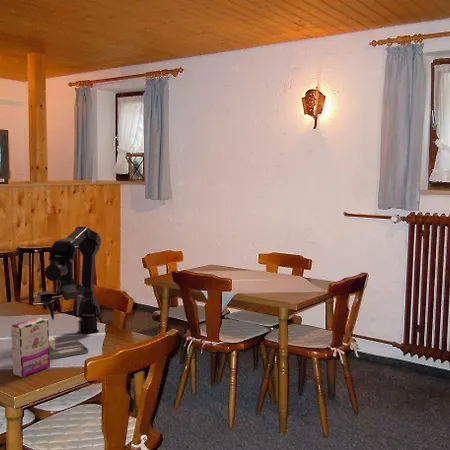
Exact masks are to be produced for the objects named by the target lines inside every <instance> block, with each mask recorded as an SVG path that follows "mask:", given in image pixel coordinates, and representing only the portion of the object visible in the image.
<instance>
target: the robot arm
mask: <svg viewBox="0 0 450 450" xmlns="http://www.w3.org/2000/svg"><path fill="white" fill-rule="evenodd" d="M101 243H102V238H101V236H100V235H99V233H97V232H95V231H94V230H92V229H91V228H90V227H88V226H77V227H75V229H74V230H73V231H72V232H71V233H70V234H69V235H67V237H64V238H58V239H57V240H55V241H54V242H53V244H52V246H51V250H50V253H49V257H48V261H49V265H47V266H46V268H45V269H44V276H45V277H46V279H47V280H48V281H51V282H56V288H55V290H56V292H50V291H49V290H46V291H38V292H37V294H36V300H37V301H38V302H39V303H41V304H43V305H45V307H46V308H47V311H48V313H49V315H50V317H51V320H52V321H54V320H55V314H54V302H53V299H59V298H63V300H64V301H69V300H75V303H74V313H75V318H79V320H78V321H77V322H78V323H77V324H78V331H79V333H81V334H82V335H86V334H87V335H88V334H94V333H98V332H100V331H99V330H98V318H101V312H102V311H101V308H100V307H99V304H98V298H97V297H96V295H95V293H94V281H95V278H94V277H95V260H96V259H95V257H96V255H97V254H98V252H99V251H100V246H101ZM77 247H78V249H77ZM78 250H79V252H80V254H81V255H82V260H81V261H82V265H81V283H80V284H75V278H74V262H75V256H76V254H77V253H76V252H77V251H78Z"/></svg>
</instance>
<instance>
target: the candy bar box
mask: <svg viewBox="0 0 450 450" xmlns="http://www.w3.org/2000/svg"><path fill="white" fill-rule="evenodd" d="M10 334H11V337H10V338H11V351H12V352H11V355H12V357H11V358H12V373H13V376H17V377H19V378H25V377H27V376H31V375H32V374H35V373H39V372H41V371H43V370H45V369H48V368H50V367H51V361H50V360H51V359H50V355H49V337H50V335H49V334H50V333H49V318H43V317H40V316H39V317H35V318H32V319H28V320H26V321H22V322H17V323H15V324H11V325H10Z"/></svg>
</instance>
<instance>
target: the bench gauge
mask: <svg viewBox="0 0 450 450" xmlns="http://www.w3.org/2000/svg"><path fill="white" fill-rule="evenodd" d="M88 353H89V349H88V348H87V347H86V346H85V344H83V343H82V342H80V340H78V339H71V340H66V341H62V342H61V341H60V342H55V349H53V351H51V350H49V355H50V360H56V359H60V358H66V357H71V356H77V355H82V354H83V355H84V354H88Z"/></svg>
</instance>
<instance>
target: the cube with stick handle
mask: <svg viewBox="0 0 450 450" xmlns="http://www.w3.org/2000/svg"><path fill="white" fill-rule="evenodd" d="M55 343H56V340H55V338H54V337H53V336H49V350H51V351H53V349H55Z"/></svg>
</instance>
